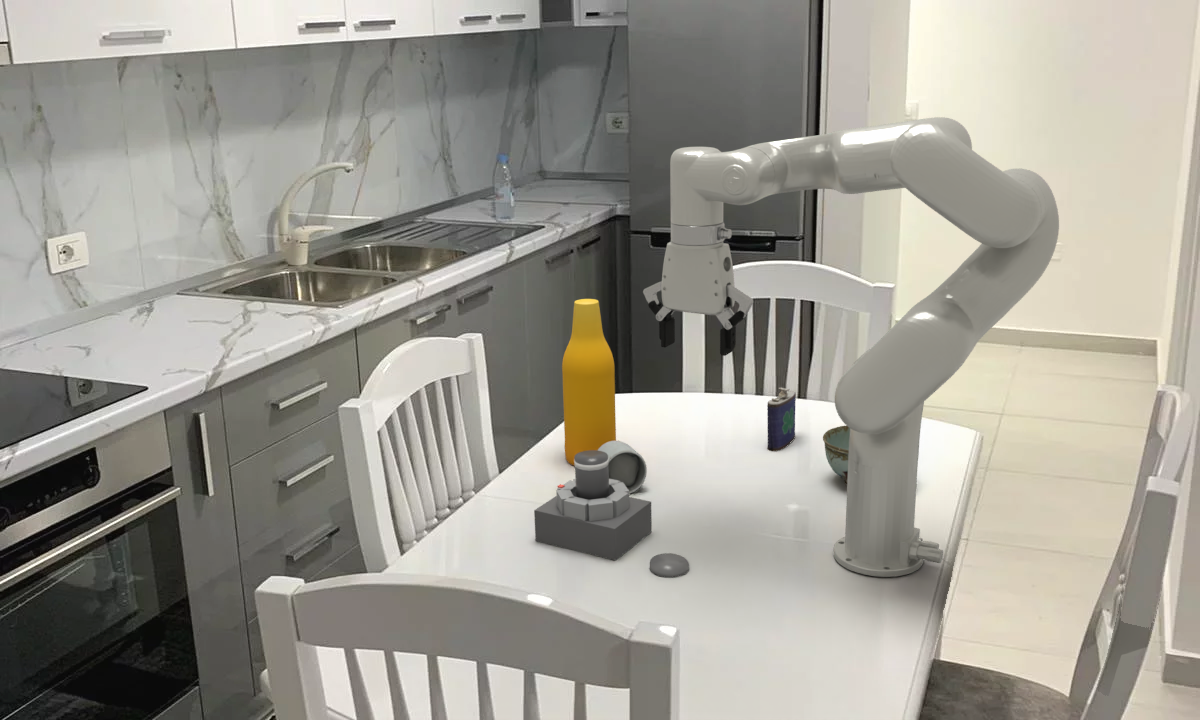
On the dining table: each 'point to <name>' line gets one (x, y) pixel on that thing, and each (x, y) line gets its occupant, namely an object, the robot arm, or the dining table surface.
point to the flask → (781, 420)
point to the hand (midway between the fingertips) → (696, 349)
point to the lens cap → (669, 565)
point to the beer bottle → (588, 383)
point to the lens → (591, 474)
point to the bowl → (838, 450)
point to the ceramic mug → (625, 464)
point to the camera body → (594, 521)
